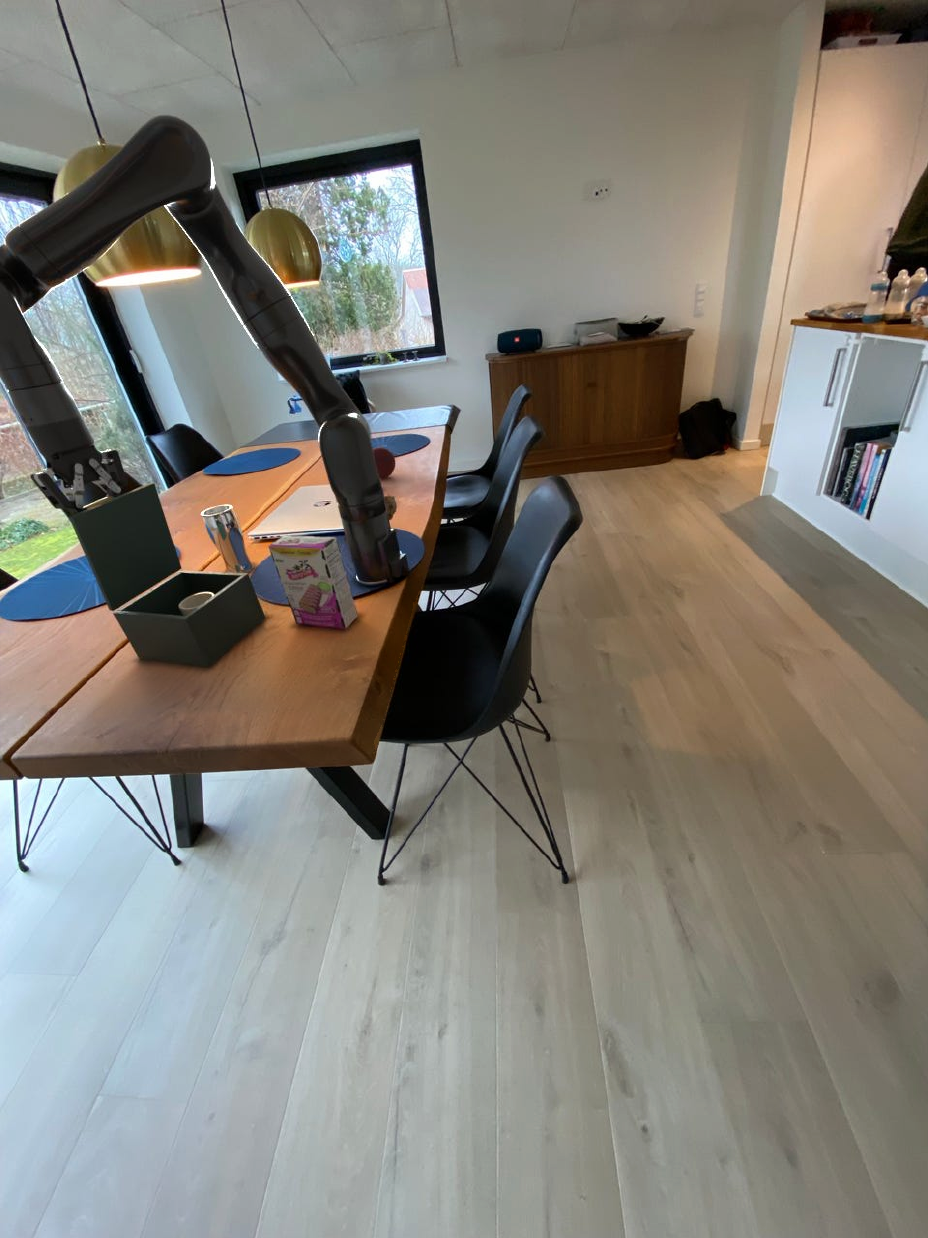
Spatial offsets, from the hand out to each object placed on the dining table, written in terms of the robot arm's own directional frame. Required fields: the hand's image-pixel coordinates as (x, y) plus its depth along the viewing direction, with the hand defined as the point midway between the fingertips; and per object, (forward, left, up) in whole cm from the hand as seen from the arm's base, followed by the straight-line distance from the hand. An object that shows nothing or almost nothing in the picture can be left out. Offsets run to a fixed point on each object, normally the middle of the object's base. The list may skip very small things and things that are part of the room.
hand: (107, 521), depth 87 cm
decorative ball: (-2, -94, -23) cm, 97 cm away
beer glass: (+3, -26, -23) cm, 36 cm away
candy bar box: (-32, -8, -23) cm, 40 cm away
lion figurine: (-22, -48, -23) cm, 58 cm away
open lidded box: (-10, 0, -23) cm, 25 cm away
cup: (-12, 0, -22) cm, 25 cm away
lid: (-3, 0, -5) cm, 6 cm away
